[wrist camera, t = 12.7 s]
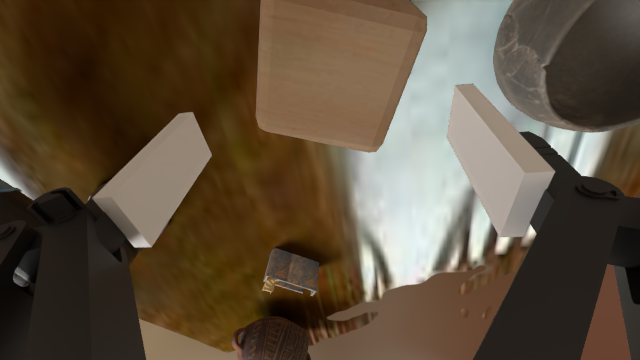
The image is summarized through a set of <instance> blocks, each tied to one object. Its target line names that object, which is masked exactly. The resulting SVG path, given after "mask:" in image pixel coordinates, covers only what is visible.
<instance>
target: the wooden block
mask: <svg viewBox="0 0 640 360" xmlns="http://www.w3.org/2000/svg"><path fill="white" fill-rule="evenodd" d="M426 32H427V16H426V15H425V14H423V13H422V12H421V11H420V10H419V9H418V8H417V7H416V6H415V5H414V4H413V3H412V2H411V1H409V0H261V5H260V29H259V53H258V76H257V100H256V118H257V122H258V125H259V128H261V129H263V130H265V131H267V132H272V133H277V134H282V135H286V136H291V137H296V138H301V139H306V140H311V141H315V142H320V143H325V144H330V145H335V146H340V147H344V148H349V149H354V150H359V151H364V152H376V151H377V150H378V149H379V148H380V146H381V145H382V143H383V142H384V139H385V137H386V134H387V131H388V129H389V126H390V124H391V121H392V119H393V116H394V114H395V111H396V108H397V106H398V103H399V101H400V98H401V96H402V93H403V90H404V88H405V85H406V83H407V80H408V78H409V75H410V73H411V70H412V67H413V65H414V62H415V60H416V57H417V55H418V52H419V50H420V47H421V44H422V42H423V39H424V37H425V34H426Z"/></svg>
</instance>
